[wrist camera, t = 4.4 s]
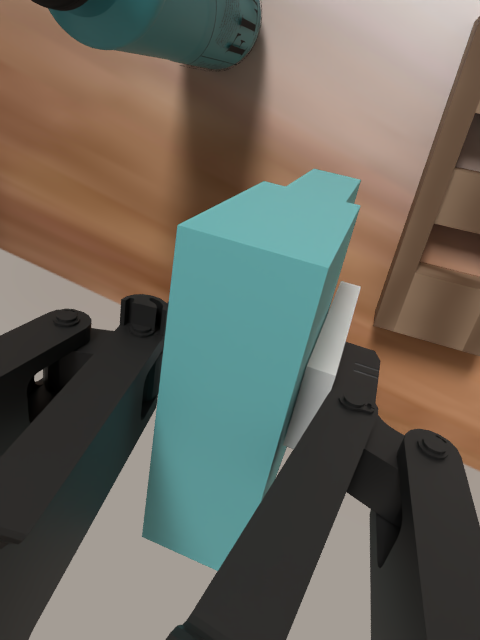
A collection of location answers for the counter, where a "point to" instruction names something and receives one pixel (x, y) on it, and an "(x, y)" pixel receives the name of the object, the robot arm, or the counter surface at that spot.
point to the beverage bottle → (164, 28)
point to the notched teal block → (240, 353)
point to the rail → (448, 210)
